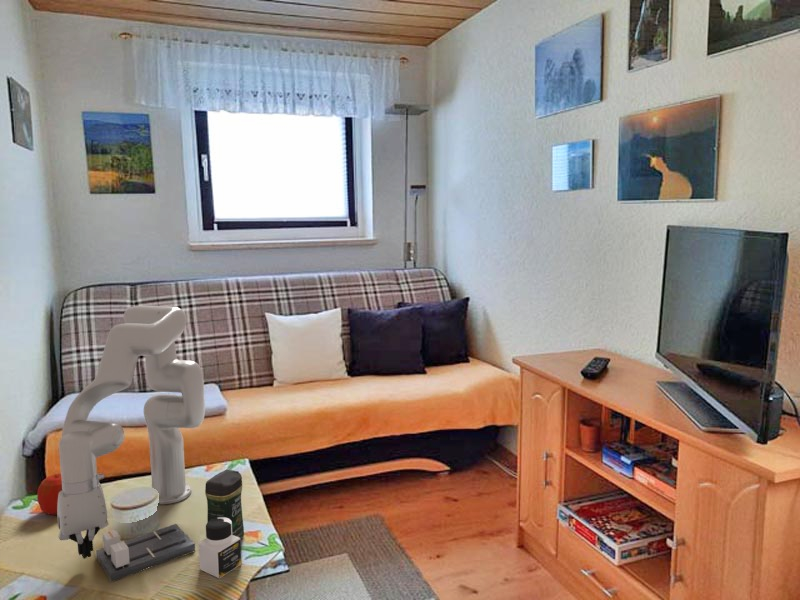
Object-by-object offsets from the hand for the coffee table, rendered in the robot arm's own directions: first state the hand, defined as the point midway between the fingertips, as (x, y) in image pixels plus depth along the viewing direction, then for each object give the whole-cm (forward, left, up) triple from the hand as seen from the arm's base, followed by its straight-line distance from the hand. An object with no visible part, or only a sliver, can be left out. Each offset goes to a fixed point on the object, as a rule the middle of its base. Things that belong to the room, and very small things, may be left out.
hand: (86, 555), depth 145 cm
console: (+4, +13, -3) cm, 14 cm away
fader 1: (0, +6, -1) cm, 6 cm away
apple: (-36, +1, -4) cm, 36 cm away
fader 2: (+7, +6, -1) cm, 9 cm away
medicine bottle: (+21, +25, -4) cm, 33 cm away
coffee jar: (+11, +31, -4) cm, 33 cm away
